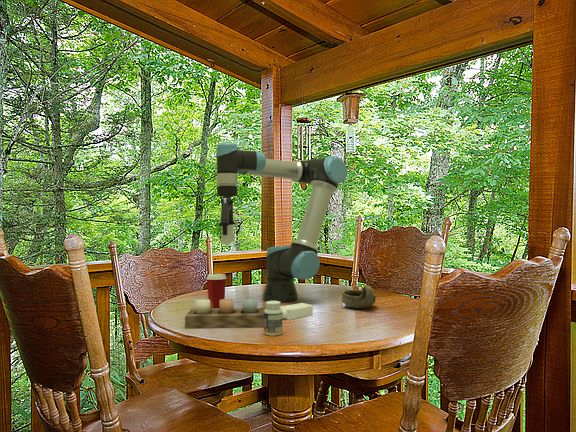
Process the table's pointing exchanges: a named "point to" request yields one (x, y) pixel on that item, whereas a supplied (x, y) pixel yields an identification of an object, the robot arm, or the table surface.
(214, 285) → the paper cup
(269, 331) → the pill bottle
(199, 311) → the button cream
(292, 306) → the cream rectangular block
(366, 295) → the bowl
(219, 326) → the console
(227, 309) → the button terracotta
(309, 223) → the robot arm
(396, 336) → the table surface
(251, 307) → the button slate
